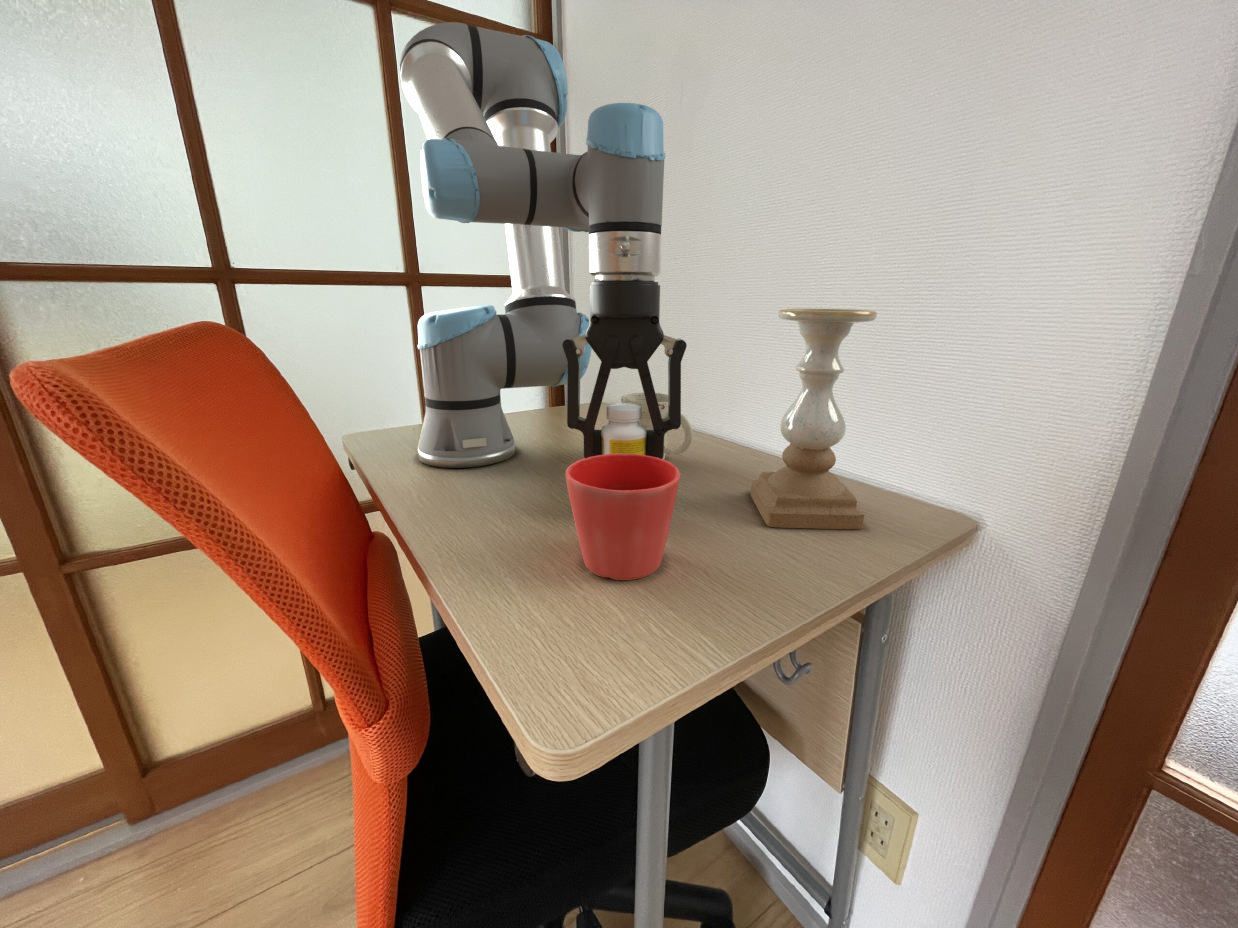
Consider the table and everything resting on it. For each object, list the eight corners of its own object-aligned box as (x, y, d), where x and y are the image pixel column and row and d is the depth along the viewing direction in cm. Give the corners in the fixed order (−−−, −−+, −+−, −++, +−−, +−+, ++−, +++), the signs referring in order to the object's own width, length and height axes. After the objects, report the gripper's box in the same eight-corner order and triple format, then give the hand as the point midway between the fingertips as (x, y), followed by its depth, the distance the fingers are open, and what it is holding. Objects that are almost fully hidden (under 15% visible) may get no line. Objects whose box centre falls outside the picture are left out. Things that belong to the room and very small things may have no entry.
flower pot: (597, 602, 46) (596, 498, 43) (552, 549, 55) (549, 461, 52) (697, 574, 50) (703, 478, 47) (640, 530, 60) (642, 447, 57)
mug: (639, 448, 91) (640, 390, 88) (704, 461, 84) (708, 399, 81) (610, 459, 85) (610, 398, 82) (678, 475, 78) (681, 408, 75)
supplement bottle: (655, 488, 63) (657, 407, 60) (621, 499, 59) (621, 413, 56) (625, 477, 66) (626, 400, 63) (591, 486, 63) (590, 406, 60)
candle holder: (767, 527, 60) (789, 311, 53) (749, 493, 71) (765, 308, 63) (864, 529, 60) (900, 312, 53) (831, 494, 70) (858, 308, 63)
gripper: (531, 277, 52) (541, 496, 59) (718, 278, 52) (705, 497, 59) (542, 280, 59) (550, 474, 66) (706, 280, 59) (696, 475, 66)
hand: (623, 485), depth 63 cm, fingers closed on supplement bottle, 5 cm apart
